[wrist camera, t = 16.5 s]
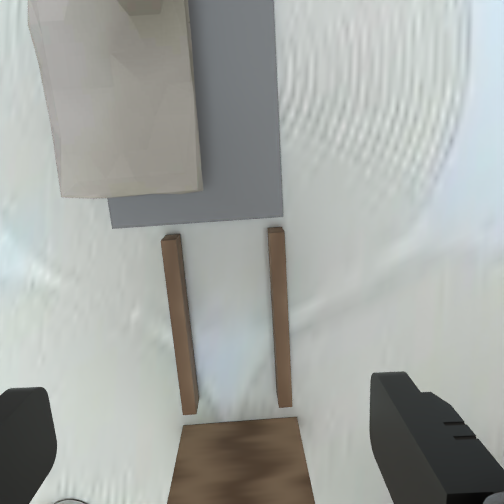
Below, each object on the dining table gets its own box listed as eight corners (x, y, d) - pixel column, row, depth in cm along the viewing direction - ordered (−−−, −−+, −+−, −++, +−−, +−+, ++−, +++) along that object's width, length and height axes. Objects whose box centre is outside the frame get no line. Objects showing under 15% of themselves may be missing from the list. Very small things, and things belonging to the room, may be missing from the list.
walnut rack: (288, 226, 33) (322, 279, 19) (297, 427, 38) (328, 580, 24) (158, 235, 33) (101, 295, 19) (184, 436, 38) (153, 594, 24)
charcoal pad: (266, -132, 27) (267, -141, 26) (282, 215, 33) (283, 216, 32) (60, -120, 26) (55, -129, 26) (115, 226, 33) (112, 228, 32)
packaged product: (191, -81, 26) (48, -69, 27) (175, -130, 22) (2, -115, 22) (211, 188, 31) (88, 193, 31) (201, 194, 26) (57, 201, 27)
